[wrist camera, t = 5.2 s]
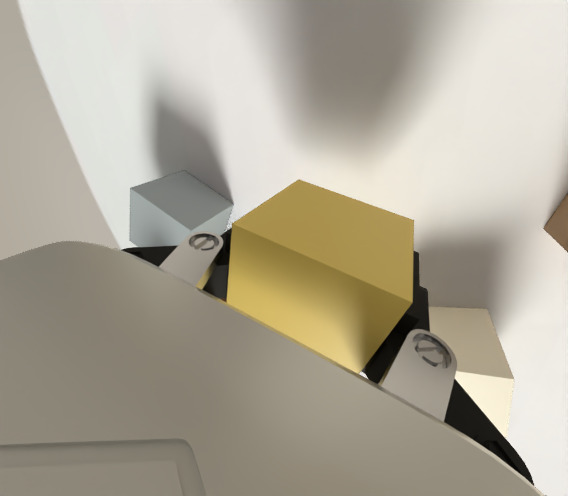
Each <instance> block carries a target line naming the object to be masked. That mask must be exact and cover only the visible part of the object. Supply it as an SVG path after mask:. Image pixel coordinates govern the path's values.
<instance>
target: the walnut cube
mask: <svg viewBox="0 0 568 496" xmlns="http://www.w3.org/2000/svg"><path fill="white" fill-rule="evenodd" d="M543 229H544V230H545V231H546V232H547V233H548V234H549V235H550V236H552V237H553V238H554V239H555V240H556V241H557V242H558V243H559V244H560V245H561V246H562V247H563V248H564V249H565V250H566V251H567V252H568V193H567V195H566V196H565V198H564V199H563V201H562V202H561V203H560V205H559V206H558V208H557V209H556V211H555V212H554V214H553V215H552V217H551V218H550V220H549V221H548V223H547V224H546V225H545V227H544V228H543Z"/></svg>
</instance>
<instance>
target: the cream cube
mask: <svg viewBox="0 0 568 496" xmlns="http://www.w3.org/2000/svg"><path fill="white" fill-rule="evenodd" d="M429 322H430V332H431V333H433V334H435V335H436V336H438V337H439V338H441V339H442V340H443V341H444V342H445V343H446V344H447V345H448V346H449V347H450V348H451V350H452V351H453V353H454V354H455V357H456V360H457V370H456V374H455V379H456V380H457V382H458V383H459V384H460V385H461V386H462V388H463V389H464V390H465V391H466V392H467V393H468V395H469V396H470V397H471V398H472V399H473V401H474V402H475V403H476V404H477V405H478V407H479V408H480V409H481V410H482V411H483V413H484V414H485V415H486V416H487V417H488V418H489V420H490V421H491V422H492V423H493V424H494V426H495V427H496V428H497V429H498V430H499V432H500V433H501V434H502V435H503V436H504V437H505V438H507V431H508V424H509V416H510V408H511V401H512V393H513V386H514V377H513V375H512V372H511V370H510V367H509V364H508V362H507V359H506V356H505V354H504V351H503V349H502V346H501V343H500V341H499V338H498V335H497V333H496V330H495V328H494V325H493V322H492V320H491V317H490V315H489V312H488V309H478V308H453V307H429Z"/></svg>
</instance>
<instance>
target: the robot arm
mask: <svg viewBox="0 0 568 496" xmlns="http://www.w3.org/2000/svg"><path fill="white" fill-rule="evenodd" d="M231 234H232V228H231V229H229V230H228V231H226V232H225V233H223V234H222V235H220V236H219V235H217V234H215V233H213V232H207V231H200V232H195V233H192V234H190V235H189V236H187V237H186V238H185V239H184V240H183V241H182V242H181V243H180V244H179V245H176V246H155V247H134V248H126V249H123V250H119V249H117V248H113V247H109V246H105V245H102V244H94V243H89V242H81V241H62V242H56V243H52V244H48V245H45V246H41V247H38V248H35V249H31V250H28V251H25V252H23V253H20V254H17V255H14V256H11V257H8V258H6V259H3V260H0V496H546V495H544V494H542V493H541V492H540V491H539V490H538V489H537V488H536V487H535V486H534V483H533V480H532V477H531V474H530V472H529V470H528V468H527V467H526V465H525V463H524V461H523V460H522V459H521V457H520V456H519V455H518V453H517V452H516V451H515V449H514V448H513V447H512V446H511V445H510V443H509V442H508V441H507V440H506V439H505V437H504V436H503V435H502V434H501V433H500V432H499V430H498V429H497V428H496V427H495V426H494V424H493V423H492V422H491V421H490V420H489V418H488V417H487V416H486V415H485V414H484V413H483V411H482V410H481V409H480V408H479V407H478V405H477V404H476V403H475V402H474V401H473V399H472V398H471V397H470V396H469V395H468V393H467V392H466V391H465V390H464V389H463V388H462V386H461V385H460V384H459V383H458V382H457V380H456V379H455V374H456V370H457V360H456V357H455V354H454V353H453V351H452V350H451V348H450V347H449V346H448V345H447V344H446V343H445V342H444V341H443V340H442V339H441V338H439V337H438V336H436V335H435V334H433V333H431V332H430V322H429V306H428V292H427V289H426V288H423V287H421V286H419V253H418V252H415V251H413V303H412V304H411V305H410V307H409V308H408V309H407V311H406V312H405V313H404V315H403V316H402V317H401V319H400V320H399V321H398V323H397V324H396V325H395V327H394V328H393V329H392V331H391V332H390V333H389V335H388V336H387V337H386V339H385V340H384V341H383V343H382V344H381V345H380V347H379V348H378V349H377V351H376V352H375V353H374V355H373V356H372V357H371V359H370V360H369V361H368V363H367V364H366V365H365V367H364V368H363V369H362V372H363V373H365V374H366V376H367V377H368V379H367V378H365V377H363V376H361V375H359V374H358V373H356V372H354V371H352V370H350V369H348V368H347V367H345V366H343V365H341V364H339V363H337V362H335V361H334V360H332V359H330V358H328V357H326V356H324V355H323V354H321V353H319V352H317V351H315V350H313V349H312V348H310V347H308V346H306V345H304V344H302V343H301V342H299V341H297V340H295V339H293V338H291V337H289V336H288V335H286V334H284V333H282V332H280V331H278V330H276V329H275V328H273V327H271V326H269V325H267V324H265V323H263V322H262V321H260V320H258V319H256V318H254V317H252V316H250V315H249V314H247V313H245V312H243V311H241V310H239V309H237V308H236V307H234V306H232V305H230V304H228V303H226V302H224V301H222V300H221V298H225V299H227V290H228V276H229V262H230V248H231Z"/></svg>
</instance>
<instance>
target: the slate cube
mask: <svg viewBox="0 0 568 496" xmlns="http://www.w3.org/2000/svg"><path fill="white" fill-rule="evenodd" d="M233 206H234V204H233V203H231V202H230V201H228V200H227V199H225V198H224V197H223V196H221V195H220V194H218V193H217V192H215V191H214V190H212V189H211V188H209V187H208V186H206V185H205V184H203V183H202V182H200V181H199V180H198V179H196V178H195V177H193V176H192V175H190V174H189V173H187V172H186V171H181V172H178V173H175V174H172V175H169V176H166V177H162V178H159V179H156V180H153V181H150V182H147V183H144V184H141V185H138V186H135V187H132V188H130V241H131V242H132V243H134V244H135V245H136V246H138V247H155V246H176V245H179V244H180V243H181V242H182V241H183V240H184V239H185V238H186V237H187V236H189V235H190V234H192V233H195V232H200V231H207V232H213V233H215V234H217V235H219V236H220V235H222V234H223V233H224V231H225V228H226V225H227V223H228V220H229V217H230V214H231V211H232V208H233Z"/></svg>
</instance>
